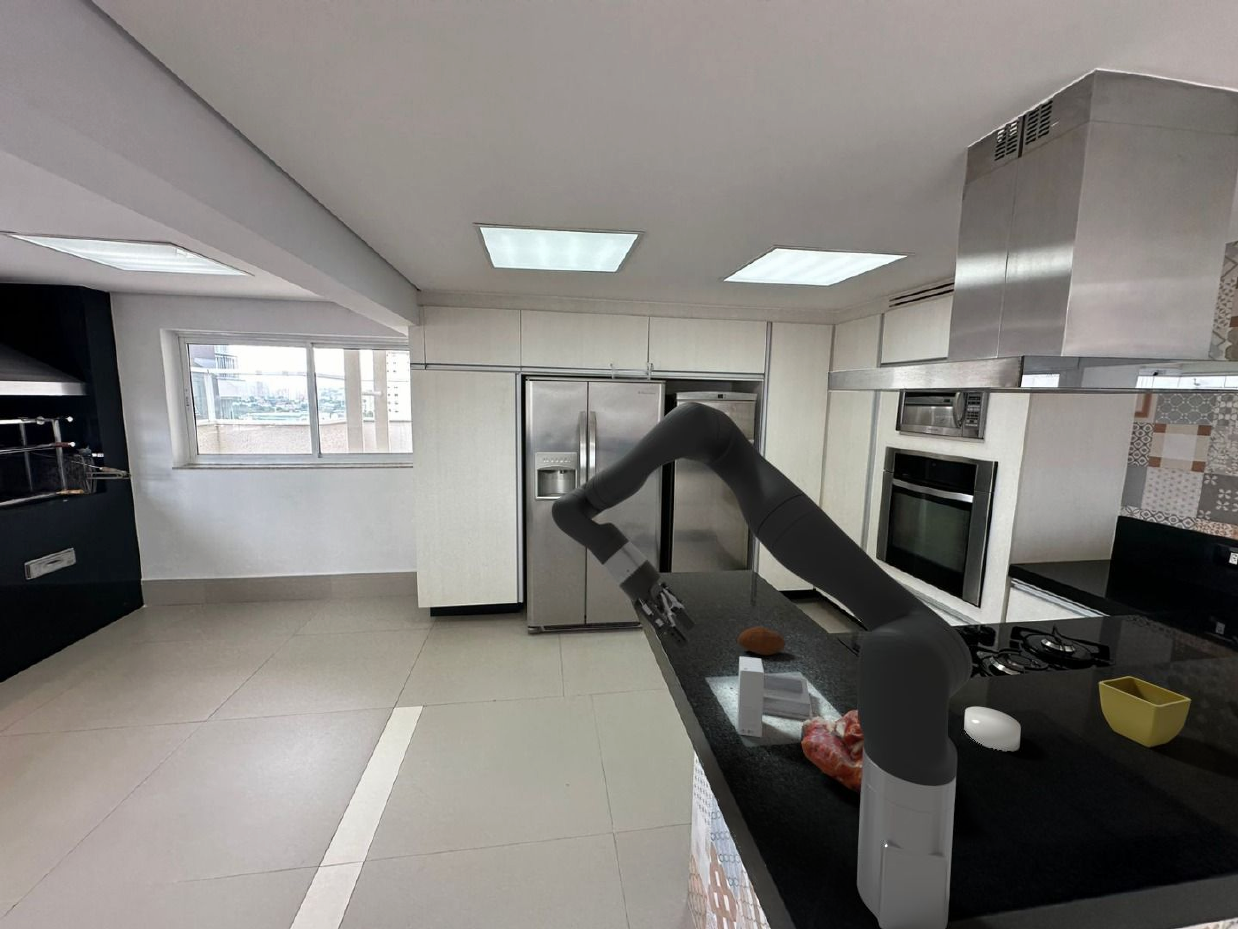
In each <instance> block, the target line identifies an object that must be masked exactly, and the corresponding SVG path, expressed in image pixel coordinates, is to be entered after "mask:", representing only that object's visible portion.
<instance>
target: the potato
mask: <svg viewBox="0 0 1238 929" xmlns="http://www.w3.org/2000/svg"><path fill="white" fill-rule="evenodd" d="M737 642H738V644H739V646H741V647H742V648H743V649H745V650H747V651H749V652H751V653H754V654H757V655H761V656H771V655H772V656H773V655H775V654H777V653H779V652H780V651H782V650H783V649H784V648H785V646H786V640H785V639H784V637H783V636H782V635H781V634H779V633H778V632H776V631H772V630H770V629H767V628H765V627H763V626H753V627H750V628H748V629H746V630H744V631H742V633H740V634H739V635H738V637H737Z"/></svg>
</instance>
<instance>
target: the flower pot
mask: <svg viewBox="0 0 1238 929" xmlns="http://www.w3.org/2000/svg"><path fill="white" fill-rule="evenodd" d="M1098 690H1099V698H1100V704H1101V705H1100V706H1101V710H1102V713H1103V715H1104V718H1105V720H1106V722H1108V725H1109V727H1110V728H1111V729H1112V730H1113V731H1114V732H1115V733H1117V734H1119V735H1121V736H1122V737H1123V736H1124V738H1128V739H1130V740H1132V741H1134V742H1136V743H1138V744H1141V745H1143V746H1144V747H1147V748H1151V747H1152V748H1153V747H1155V746H1156V747H1157V746H1159V745H1163V744H1167V743H1169V742H1170V741H1172V740H1173V739H1174V738H1175V737H1176V736H1177V735H1178V734H1179V733H1180V732H1181V730H1182V729H1183V727H1184V726H1185V724H1186V721H1187V716H1188V714H1189V710H1190V705H1191V703H1192V699H1191V698H1189V697H1187V696H1184V695H1182V694H1179V693H1176V692H1174V691H1171V690H1168V689H1166V688H1163V687H1161V686H1158V685H1155V684H1152V683H1150V682H1148V681H1144V680H1141V679H1140V678H1136V677H1133V676H1130V675H1129V676H1123V677H1119V678H1114V679H1107V680H1101V681H1099V682H1098Z"/></svg>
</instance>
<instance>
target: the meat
mask: <svg viewBox="0 0 1238 929" xmlns="http://www.w3.org/2000/svg"><path fill="white" fill-rule="evenodd" d="M801 730H802V731H803V734H804V737H803V739H802V741H801V746H802V750H803V752H802V753H804V756H805V757H806V759H808V760H809V761H810V762H812V764H814V765H815V766H816V767H817V768H819V769H820V770H821V771H822V773H823V774H826V775H828V776H830V777H831V778H832V779H834V780H836V782H838V783H840V785H842V786H844V787H846V788H848V789H849V790H850V791H853V792H854V793H856V794H858V795H859V796H861V779H862V760H863V734H862V731H861V728H860V725H859V721H858V710H857V709H853V710H849V711H848V712H847V713H846V714H844V715H843V716H842V717H840V718H839V719H837V720H836V721H834V722H829V720H826V719H824V718H822V717H821V716H819V715H818V716H815V717H813V719H812V720H809V719H808V720H804V721H803V723H802V726H801Z"/></svg>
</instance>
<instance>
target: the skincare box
mask: <svg viewBox="0 0 1238 929" xmlns="http://www.w3.org/2000/svg"><path fill="white" fill-rule="evenodd" d="M738 658H739V661H738V678H737V679H738V680H737V681H738V682H737V684H738V686H737V689H738V690H737V710H736V720H737V722H736V723H737V734H738V735H741V736H742V735H743V736H749V737H756V738H762V735H763V734H762V733H763V715H764V713H763V689H764V673H765V671H764V670H765V669H764V666H763V661H762V658H758V657H749V656H743V655H742V656H739V657H738Z"/></svg>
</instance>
